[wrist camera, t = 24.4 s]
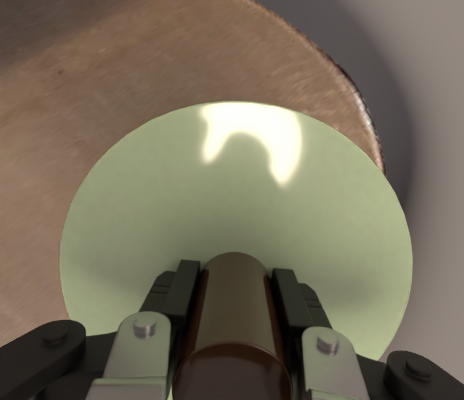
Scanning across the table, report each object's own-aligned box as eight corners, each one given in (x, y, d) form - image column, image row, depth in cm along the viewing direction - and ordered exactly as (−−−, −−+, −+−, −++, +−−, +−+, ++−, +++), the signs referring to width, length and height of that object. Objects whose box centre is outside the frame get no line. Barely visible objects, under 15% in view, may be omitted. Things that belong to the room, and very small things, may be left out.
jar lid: (19, 303, 14) (-155, 444, 8) (188, 23, 11) (128, -104, 5) (267, 447, 15) (286, 656, 9) (467, 235, 13) (681, 337, 6)
